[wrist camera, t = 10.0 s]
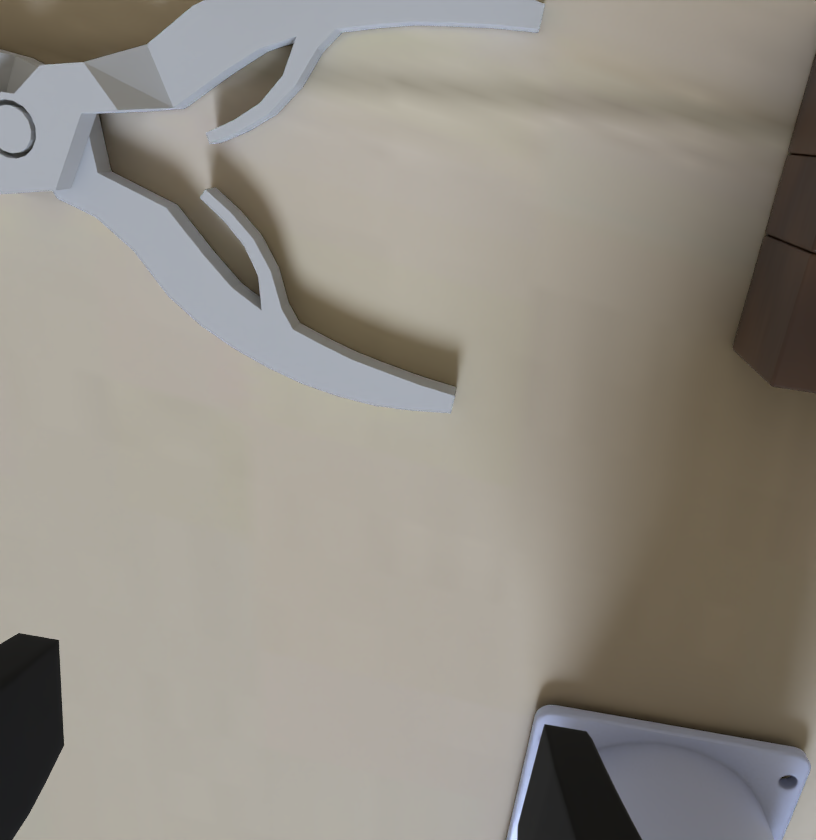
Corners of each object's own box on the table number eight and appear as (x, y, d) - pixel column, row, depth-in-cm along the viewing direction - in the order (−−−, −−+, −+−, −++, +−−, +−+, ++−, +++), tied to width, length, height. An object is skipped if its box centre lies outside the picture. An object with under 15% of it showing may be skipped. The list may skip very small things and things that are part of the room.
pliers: (446, 434, 19) (-137, 304, 20) (450, 412, 21) (-93, 291, 21) (550, -16, 15) (-169, -162, 16) (546, -4, 17) (-112, -137, 17)
